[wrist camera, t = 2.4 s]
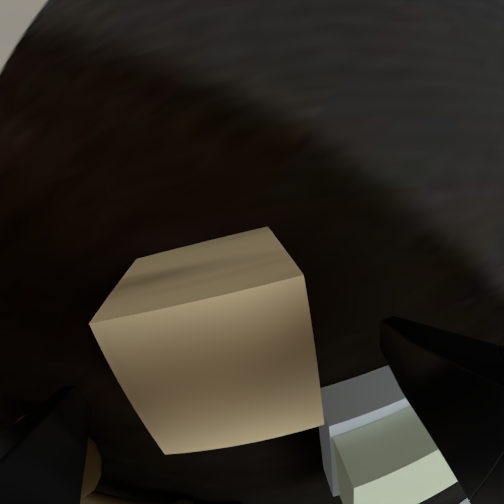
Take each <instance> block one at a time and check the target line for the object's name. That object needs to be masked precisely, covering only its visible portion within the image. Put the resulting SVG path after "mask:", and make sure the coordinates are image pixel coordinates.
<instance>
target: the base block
mask: <svg viewBox="0 0 504 504" xmlns="http://www.w3.org/2000/svg"><path fill="white" fill-rule="evenodd" d="M320 391H321V399H322V408H323V416H324V425H321V426H319V433H320V441H321V450H322V460H323V468H324V471H325V474H326V477H327V480H328V483H329V486H330V489H331V491H332V494H333V497H334V496H337V495H339V485H338V476H337V467H336V459H335V451H334V443H333V437H336V436H338V435H341V434H344V433H347V432H350V431H352V430H355V429H358V428H360V427H363V426H365V425H368V424H370V423H373V422H375V421H378V420H380V419H382V418H385V417H387V416H389V415H391V414H394V413H396V412H398V411H400V410H402V409H405V408H407V407H409V406H411V405H410V404H409V402H408V401H407V399H406V398H405V396H404V394H403V393H402V391H401V389H400V387H399V385H398V383H397V381H396V379H395V377H394V375H393V373H392V371H391V369H390V367H389V365H388V366H385V367H382V368H380V369H377V370H374V371H372V372H369V373H366V374H363V375H360V376H357V377H354V378H352V379H349V380H346V381H342V382H339V383H336V384H333V385H330V386H327V387H323V388H320Z"/></svg>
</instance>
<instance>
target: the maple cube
mask: <svg viewBox="0 0 504 504" xmlns="http://www.w3.org/2000/svg"><path fill="white" fill-rule="evenodd" d="M89 325H90V327H91V329H92V331H93V333H94V336H95V338H96V340H97V342H98V344H99V346H100V348H101V350H102V352H103V354H104V356H105V358H106V360H107V362H108V363H109V365H110V367H111V369H112V371H113V373H114V375H115V376H116V378H117V380H118V382H119V384H120V385H121V387H122V389H123V391H124V392H125V394H126V396H127V397H128V399H129V401H130V402H131V404H132V406H133V407H134V409H135V411H136V412H137V414H138V415H139V417H140V418H141V420H142V422H143V423H144V425H145V426H146V428H147V429H148V431H149V432H150V434H151V435H152V437H153V438H154V440H155V441H156V442H157V444H158V445H159V447H160V448H161V449H162V451H163V452H164V454H177V453H187V452H196V451H204V450H212V449H218V448H225V447H231V446H237V445H242V444H248V443H253V442H258V441H262V440H267V439H272V438H276V437H280V436H284V435H288V434H292V433H296V432H300V431H303V430H307V429H311V428H314V427H318V426H321V425H324V416H323V408H322V399H321V391H320V383H319V375H318V367H317V359H316V352H315V345H314V338H313V331H312V324H311V317H310V311H309V304H308V298H307V292H306V286H305V279H304V275H303V273H302V272H301V271H300V269H299V268H298V266H297V265H296V264H295V262H294V261H293V260H292V258H291V257H290V256H289V254H288V253H287V251H286V250H285V249H284V247H283V246H282V245H281V243H280V242H279V241H278V239H277V238H276V237H275V235H274V234H273V233H272V231H271V230H270V229H269V227H264V228H259V229H255V230H251V231H247V232H243V233H238V234H234V235H230V236H226V237H222V238H218V239H214V240H209V241H205V242H201V243H197V244H193V245H189V246H185V247H181V248H177V249H173V250H169V251H165V252H161V253H157V254H154V255H150V256H146V257H142V258H138V259H136V260H135V261H134V263H133V264H132V265H131V267H130V268H129V269H128V271H127V272H126V273H125V275H124V276H123V277H122V279H121V280H120V281H119V283H118V284H117V285H116V287H115V288H114V289H113V291H112V292H111V293H110V295H109V296H108V297H107V299H106V300H105V302H104V303H103V304H102V306H101V307H100V309H99V310H98V311H97V313H96V314H95V316H94V317H93V319H92V320H91V321H90V323H89Z"/></svg>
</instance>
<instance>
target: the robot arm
mask: <svg viewBox="0 0 504 504" xmlns="http://www.w3.org/2000/svg"><path fill="white" fill-rule="evenodd" d="M380 348H381V351H382V353H383V355H384V357H385V359H386V361H387V363H388V365H389V367H390V369H391V371H392V373H393V375H394V377H395V379H396V381H397V383H398V385H399V387H400V389H401V391H402V393H403V394H404V396H405V398H406V399H407V401H408V402H409V404H410V405H411V407H412V408H413V410H414V411H415V413H416V414H417V416H418V418H419V419H420V421H421V422H422V424H423V425H424V427H425V429H426V430H427V432H428V433H429V435H430V436H431V438H432V440H433V441H434V443H435V444H436V446H437V448H438V449H439V451H440V452H441V454H442V456H443V457H444V459H445V461H446V462H447V464H448V466H449V467H450V469H451V471H452V472H453V474H454V476H455V477H456V479H457V481H458V482H459V484H460V486H461V487H462V489H463V491H464V493H465V494H466V496H467V498H468V500H470V501H469V502H470V503H471V504H504V346H501V345H498V346H497V345H496V344H493V343H489V342H486V341H482V340H478V339H474V338H471V337H467V336H463V335H460V334H456V333H452V332H449V331H445V330H441V329H438V328H434V327H431V326H427V325H424V324H420V323H416V322H413V321H409V320H406V319H402V318H399V317H395V316H392V317H389V318H387V319H384V320H382V321H381V323H380ZM89 420H90V408H89V405H88V404H87V402H86V401H85V399H84V397H83V396H82V394H81V393H80V391H79V390H78V388H76V387H75V386H65V387H63V388H61V389H60V390H59V391H57V392H56V393H55V394H53V395H52V396H51V397H49V398H48V399H47V400H45V401H44V402H43V403H41V404H40V405H39V406H37V407H36V408H35V409H33V410H32V411H31V412H29V413H28V414H27V415H25V416H24V417H23V418H21V419H20V420H19V421H18V422H16V423H15V424H14V425H12V426H11V427H10V428H8V429H7V430H6V431H4V432H3V433H2V434H0V504H80V500H81V492H82V484H83V476H84V469H85V463H86V456H87V446H88V432H89Z"/></svg>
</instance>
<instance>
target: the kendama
mask: <svg viewBox="0 0 504 504" xmlns="http://www.w3.org/2000/svg"><path fill="white" fill-rule="evenodd" d="M26 415H27V414H26ZM24 416H25V415H24ZM24 416H21V417H20V418H19V419H18V420H17V421H16V422H18V421H19V420H20V419H21V418H23V417H24ZM16 422H15V423H16ZM15 423H14V424H15ZM14 424H13V425H14ZM100 477H101V456H100V454H99V451H98V449H97V446H96V444H95V442H94V441H93V440H92V439H91V438H90V437H89V436H88V446H87V456H86V463H85V469H84V476H83V484H82V492H81V500H80V504H163V503H150V502H143V501H136V500H131V499H126V498H121V497H116V496H112V495H108V494H104V493H100V492H97V491H94V490H95V488H96V486H97V483H98V481H99V479H100ZM165 504H194V503H193V502H192V501H191V500H188V499H181V500H179V501H177V502H175V503H165Z"/></svg>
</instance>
